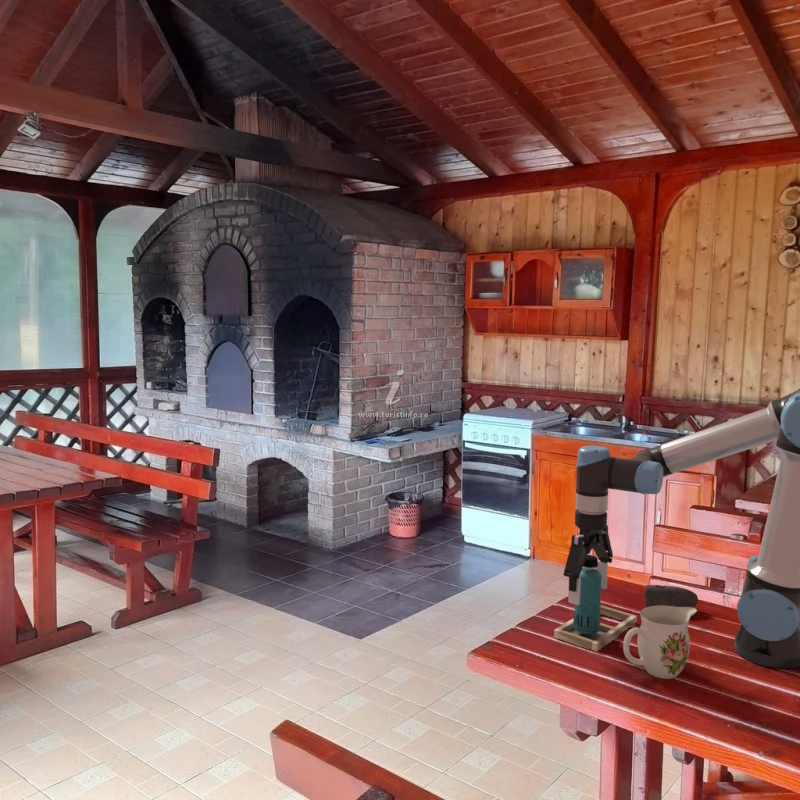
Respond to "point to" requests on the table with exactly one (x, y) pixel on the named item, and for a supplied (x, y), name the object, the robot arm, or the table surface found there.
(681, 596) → the perforated stone tool
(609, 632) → the bottle rack
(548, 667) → the table surface
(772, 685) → the table surface
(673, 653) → the pitcher
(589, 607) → the beverage bottle
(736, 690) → the table surface
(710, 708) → the table surface
